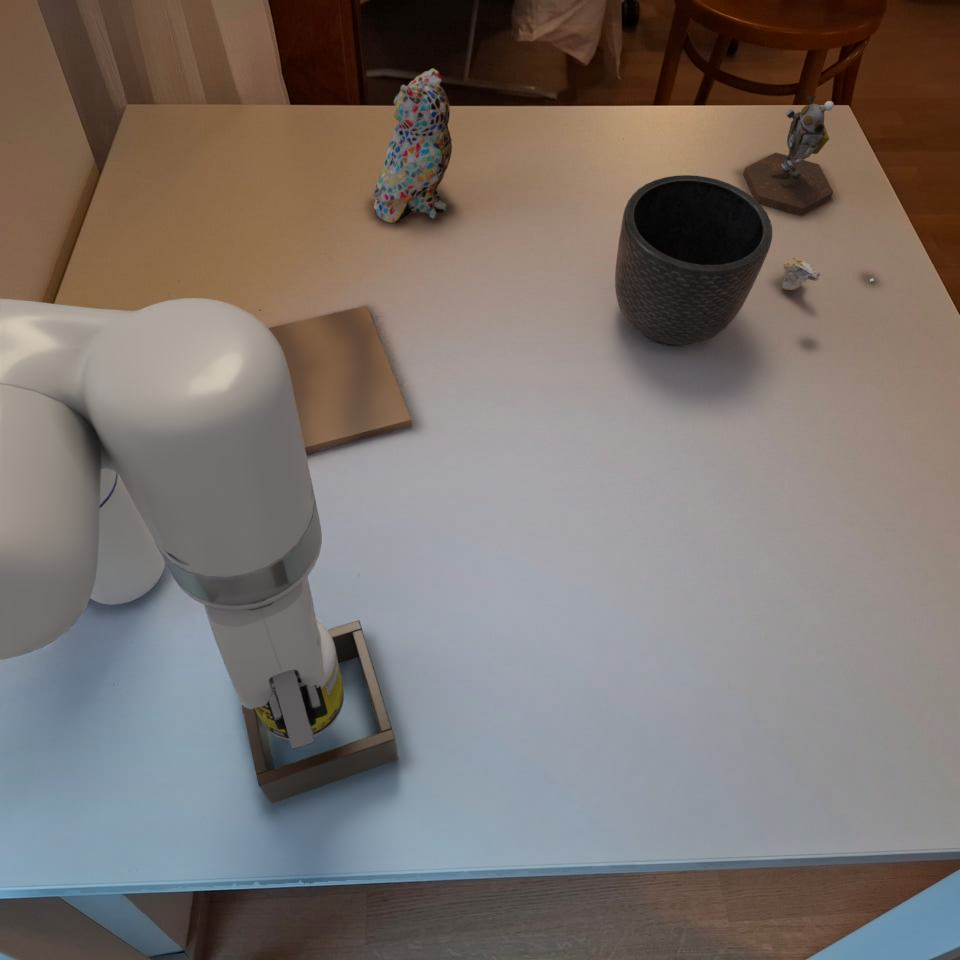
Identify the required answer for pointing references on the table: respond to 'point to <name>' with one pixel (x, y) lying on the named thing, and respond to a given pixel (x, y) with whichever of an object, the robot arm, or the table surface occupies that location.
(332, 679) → the pill bottle
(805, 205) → the robot figurine
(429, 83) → the figurine
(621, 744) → the table surface
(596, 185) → the table surface
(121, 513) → the cylindrical container
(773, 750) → the table surface
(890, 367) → the table surface
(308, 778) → the holder
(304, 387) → the board
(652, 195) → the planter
